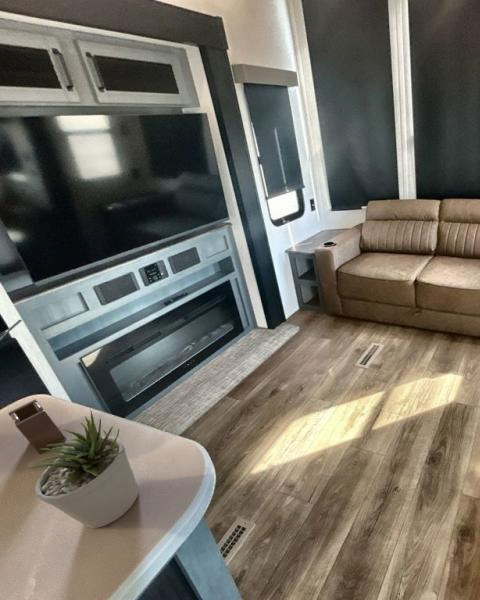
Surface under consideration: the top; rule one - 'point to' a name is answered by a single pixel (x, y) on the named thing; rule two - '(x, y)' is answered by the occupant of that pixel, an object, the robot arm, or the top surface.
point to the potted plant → (89, 478)
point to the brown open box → (36, 426)
